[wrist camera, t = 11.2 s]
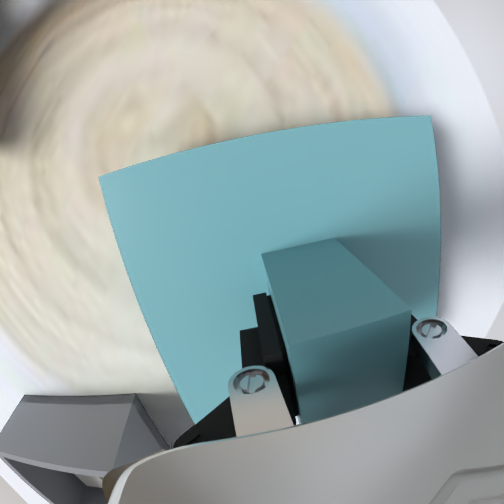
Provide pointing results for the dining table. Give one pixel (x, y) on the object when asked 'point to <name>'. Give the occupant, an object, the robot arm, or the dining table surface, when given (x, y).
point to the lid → (286, 255)
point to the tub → (76, 443)
